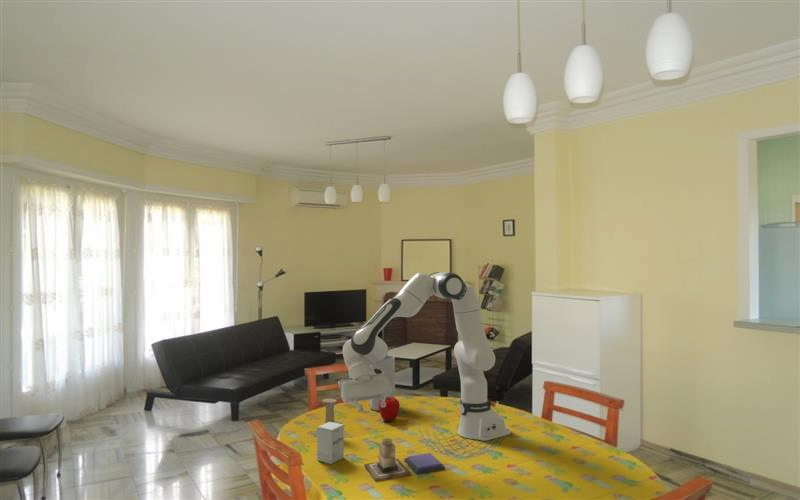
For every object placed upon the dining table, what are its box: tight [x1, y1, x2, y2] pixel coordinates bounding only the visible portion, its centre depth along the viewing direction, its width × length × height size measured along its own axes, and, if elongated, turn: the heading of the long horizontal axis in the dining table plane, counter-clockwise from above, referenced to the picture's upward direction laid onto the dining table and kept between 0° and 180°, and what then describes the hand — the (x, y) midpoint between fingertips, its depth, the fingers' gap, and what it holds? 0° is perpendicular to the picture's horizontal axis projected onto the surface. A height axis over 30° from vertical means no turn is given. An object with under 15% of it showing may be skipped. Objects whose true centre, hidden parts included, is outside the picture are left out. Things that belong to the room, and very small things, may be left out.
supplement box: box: [316, 422, 345, 465], centre depth 191 cm, size 7×7×13 cm
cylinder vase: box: [369, 354, 396, 412], centre depth 254 cm, size 12×12×25 cm
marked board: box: [364, 458, 412, 482], centre depth 181 cm, size 13×13×1 cm
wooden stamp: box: [377, 437, 398, 473], centre depth 181 cm, size 6×6×10 cm
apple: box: [378, 397, 400, 422], centre depth 235 cm, size 10×10×11 cm
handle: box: [321, 398, 338, 424], centre depth 216 cm, size 5×6×15 cm
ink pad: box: [403, 452, 446, 475], centre depth 185 cm, size 11×12×2 cm
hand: (372, 408), depth 191 cm, fingers open, 8 cm apart
